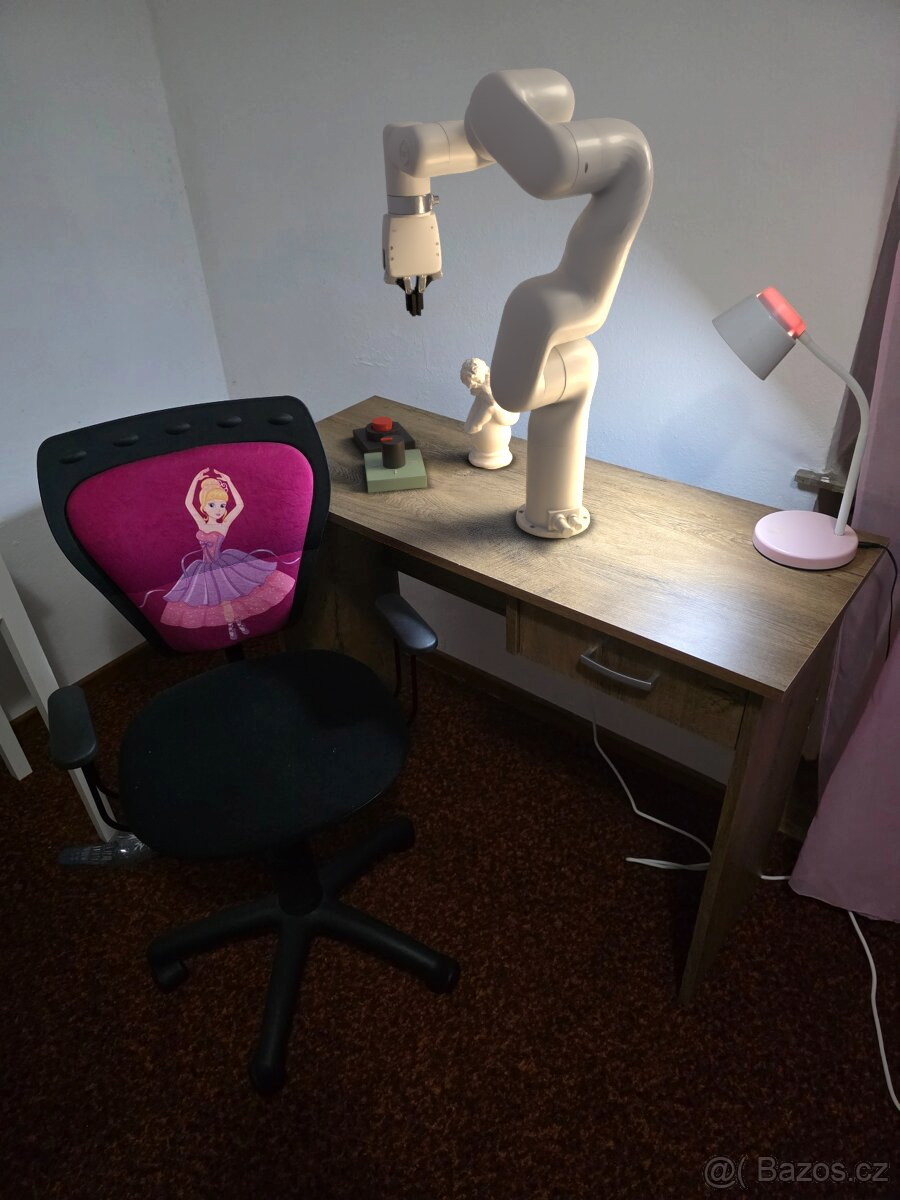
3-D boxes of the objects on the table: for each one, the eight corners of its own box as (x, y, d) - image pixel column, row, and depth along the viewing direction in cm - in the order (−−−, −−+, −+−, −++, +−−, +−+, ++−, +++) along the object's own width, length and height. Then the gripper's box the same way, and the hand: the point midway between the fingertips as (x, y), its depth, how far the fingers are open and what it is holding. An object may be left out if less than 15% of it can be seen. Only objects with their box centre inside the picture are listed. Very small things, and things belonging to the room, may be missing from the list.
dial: (404, 458, 154) (402, 432, 151) (406, 467, 151) (405, 441, 148) (381, 460, 154) (379, 434, 151) (383, 470, 150) (381, 443, 147)
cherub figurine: (457, 466, 157) (454, 354, 144) (473, 440, 166) (472, 334, 154) (518, 472, 154) (520, 359, 141) (531, 446, 163) (534, 337, 151)
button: (395, 430, 163) (394, 422, 162) (376, 433, 162) (375, 425, 161) (388, 423, 166) (388, 415, 165) (370, 426, 165) (369, 418, 164)
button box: (415, 450, 163) (414, 432, 161) (368, 459, 160) (367, 441, 158) (398, 431, 172) (396, 413, 169) (353, 439, 169) (351, 421, 166)
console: (427, 487, 150) (426, 474, 148) (368, 492, 149) (367, 480, 147) (420, 460, 159) (419, 448, 158) (365, 465, 158) (363, 452, 157)
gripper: (445, 198, 142) (448, 305, 152) (362, 205, 139) (371, 313, 149) (457, 205, 136) (459, 315, 147) (370, 212, 133) (379, 324, 143)
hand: (415, 314), depth 148 cm, fingers closed
